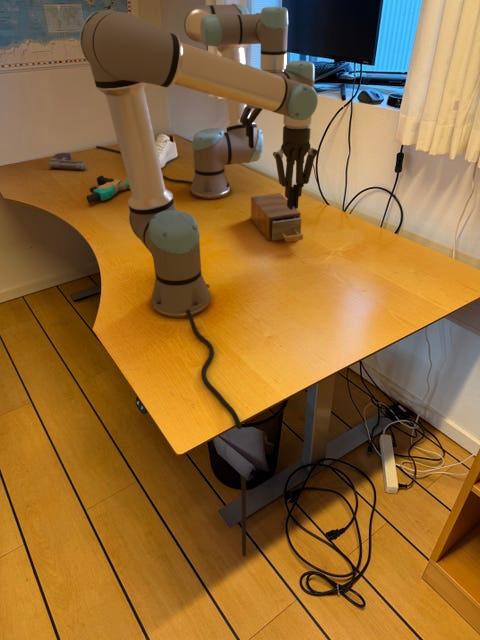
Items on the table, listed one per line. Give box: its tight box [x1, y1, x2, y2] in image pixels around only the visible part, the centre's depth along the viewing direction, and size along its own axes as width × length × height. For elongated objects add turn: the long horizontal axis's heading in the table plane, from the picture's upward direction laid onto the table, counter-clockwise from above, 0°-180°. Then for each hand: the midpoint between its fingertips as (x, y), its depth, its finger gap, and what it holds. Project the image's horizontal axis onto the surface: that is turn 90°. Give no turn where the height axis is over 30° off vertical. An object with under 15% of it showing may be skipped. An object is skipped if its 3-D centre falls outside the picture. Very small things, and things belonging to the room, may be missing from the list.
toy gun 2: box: [86, 175, 131, 204], centre depth 187 cm, size 4×26×15 cm
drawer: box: [271, 216, 304, 243], centre depth 155 cm, size 23×10×6 cm, turn 17°
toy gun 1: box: [47, 152, 87, 171], centre depth 216 cm, size 4×19×15 cm
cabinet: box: [250, 192, 301, 241], centre depth 160 cm, size 18×11×8 cm, turn 17°
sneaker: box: [155, 133, 179, 169], centre depth 214 cm, size 10×29×12 cm, turn 163°
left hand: (292, 207), depth 144 cm, fingers closed
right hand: (271, 145), depth 151 cm, fingers open, 13 cm apart
